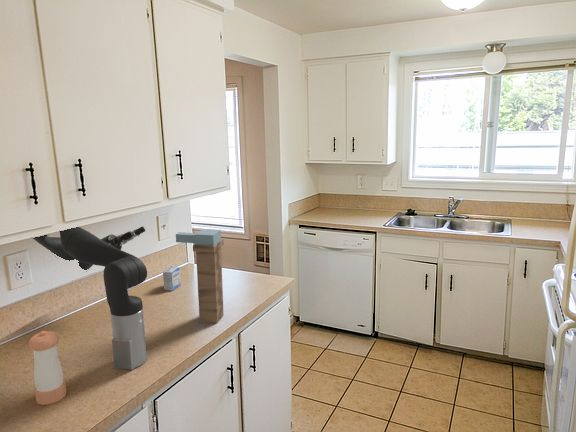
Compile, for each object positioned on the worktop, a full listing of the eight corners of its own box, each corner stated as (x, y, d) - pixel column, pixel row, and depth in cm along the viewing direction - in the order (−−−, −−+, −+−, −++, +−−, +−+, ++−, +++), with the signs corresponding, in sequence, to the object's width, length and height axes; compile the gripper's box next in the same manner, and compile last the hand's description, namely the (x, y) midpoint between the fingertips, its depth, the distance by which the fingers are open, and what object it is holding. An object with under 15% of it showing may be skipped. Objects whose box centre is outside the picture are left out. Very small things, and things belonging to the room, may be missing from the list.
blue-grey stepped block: (213, 246, 151) (213, 235, 150) (173, 244, 153) (172, 233, 153) (221, 240, 158) (220, 229, 157) (182, 238, 161) (181, 228, 160)
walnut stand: (217, 325, 156) (214, 247, 150) (196, 323, 157) (192, 245, 151) (226, 313, 165) (223, 239, 159) (206, 312, 167) (203, 238, 161)
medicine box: (173, 291, 188) (172, 272, 187) (163, 290, 189) (162, 271, 187) (181, 284, 196) (179, 266, 194) (172, 284, 197) (170, 266, 195)
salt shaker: (29, 401, 113) (19, 335, 109) (53, 386, 120) (44, 323, 116) (49, 407, 111) (40, 340, 107) (72, 391, 117) (64, 327, 113)
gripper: (89, 243, 159) (122, 226, 154) (112, 234, 172) (143, 218, 168) (98, 261, 159) (131, 244, 155) (121, 251, 173) (152, 235, 168)
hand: (138, 231), depth 161 cm, fingers open, 8 cm apart
